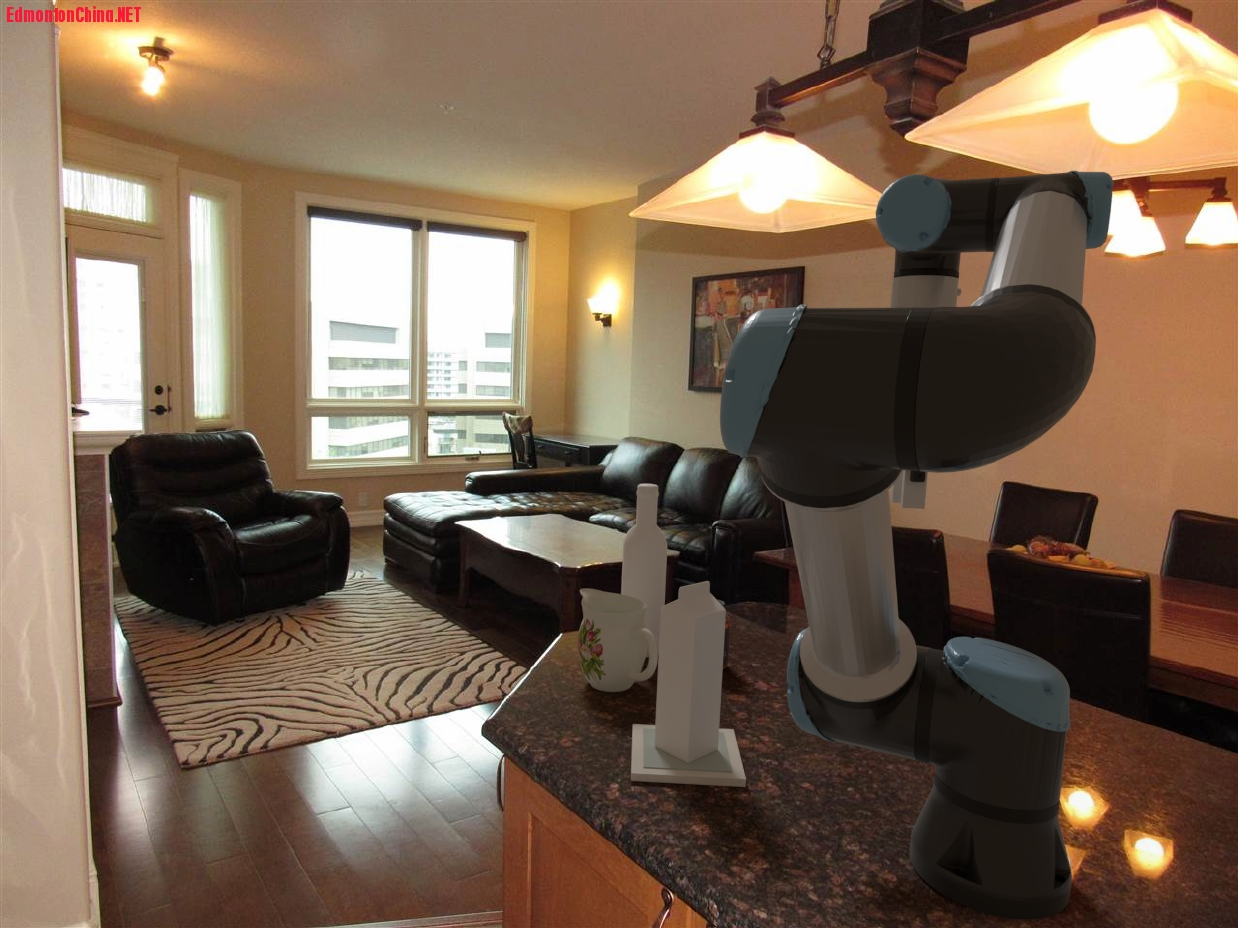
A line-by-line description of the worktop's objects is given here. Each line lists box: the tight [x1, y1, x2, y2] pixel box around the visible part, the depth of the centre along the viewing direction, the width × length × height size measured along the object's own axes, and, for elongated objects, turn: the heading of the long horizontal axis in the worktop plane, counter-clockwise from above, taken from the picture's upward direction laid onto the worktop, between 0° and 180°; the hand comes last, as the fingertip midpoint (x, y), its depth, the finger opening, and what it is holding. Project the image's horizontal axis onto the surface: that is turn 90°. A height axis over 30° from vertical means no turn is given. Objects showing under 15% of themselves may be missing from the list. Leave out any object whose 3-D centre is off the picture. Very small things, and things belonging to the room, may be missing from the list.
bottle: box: [620, 483, 668, 659], centre depth 146 cm, size 8×8×30 cm
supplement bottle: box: [715, 598, 731, 670], centre depth 140 cm, size 6×6×11 cm
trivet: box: [630, 723, 747, 788], centre depth 107 cm, size 14×14×1 cm
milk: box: [654, 580, 727, 763], centre depth 106 cm, size 6×6×22 cm
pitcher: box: [577, 587, 659, 693], centre depth 130 cm, size 11×18×14 cm, turn 41°
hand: (907, 504), depth 103 cm, fingers open, 3 cm apart
